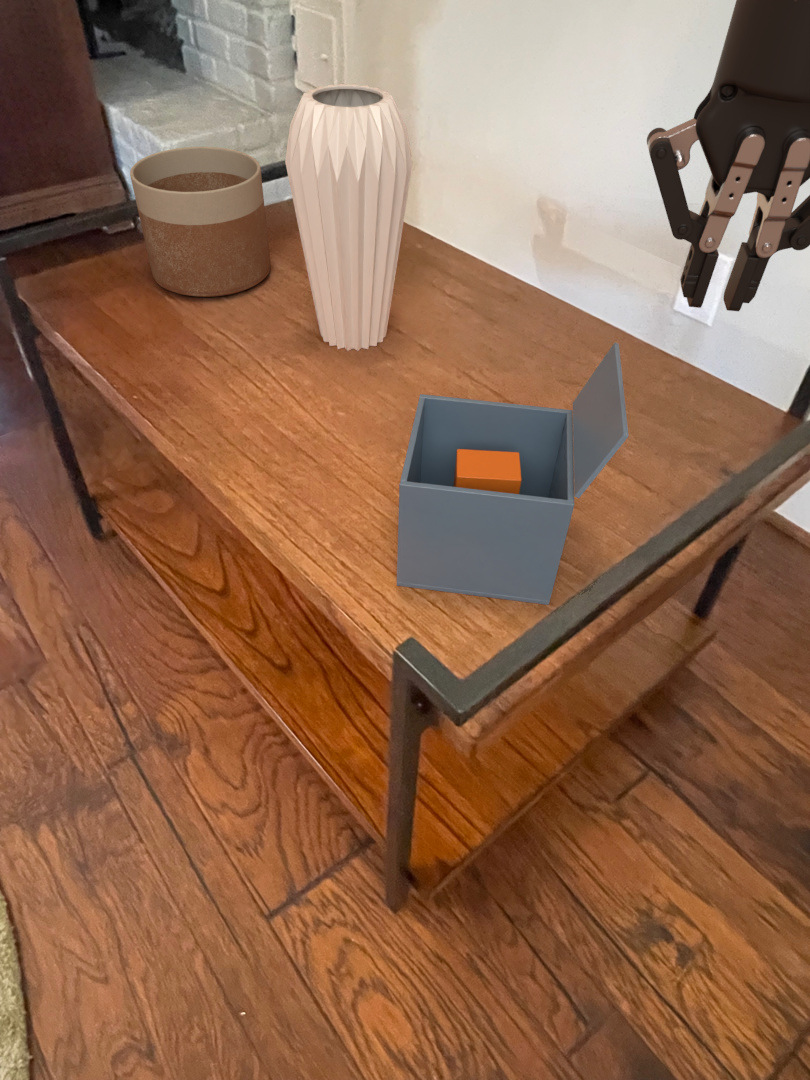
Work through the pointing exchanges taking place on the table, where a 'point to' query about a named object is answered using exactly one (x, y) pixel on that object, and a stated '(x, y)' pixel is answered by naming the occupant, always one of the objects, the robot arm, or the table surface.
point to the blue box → (485, 501)
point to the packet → (488, 470)
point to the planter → (203, 219)
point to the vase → (350, 205)
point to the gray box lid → (598, 420)
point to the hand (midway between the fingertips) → (712, 302)
